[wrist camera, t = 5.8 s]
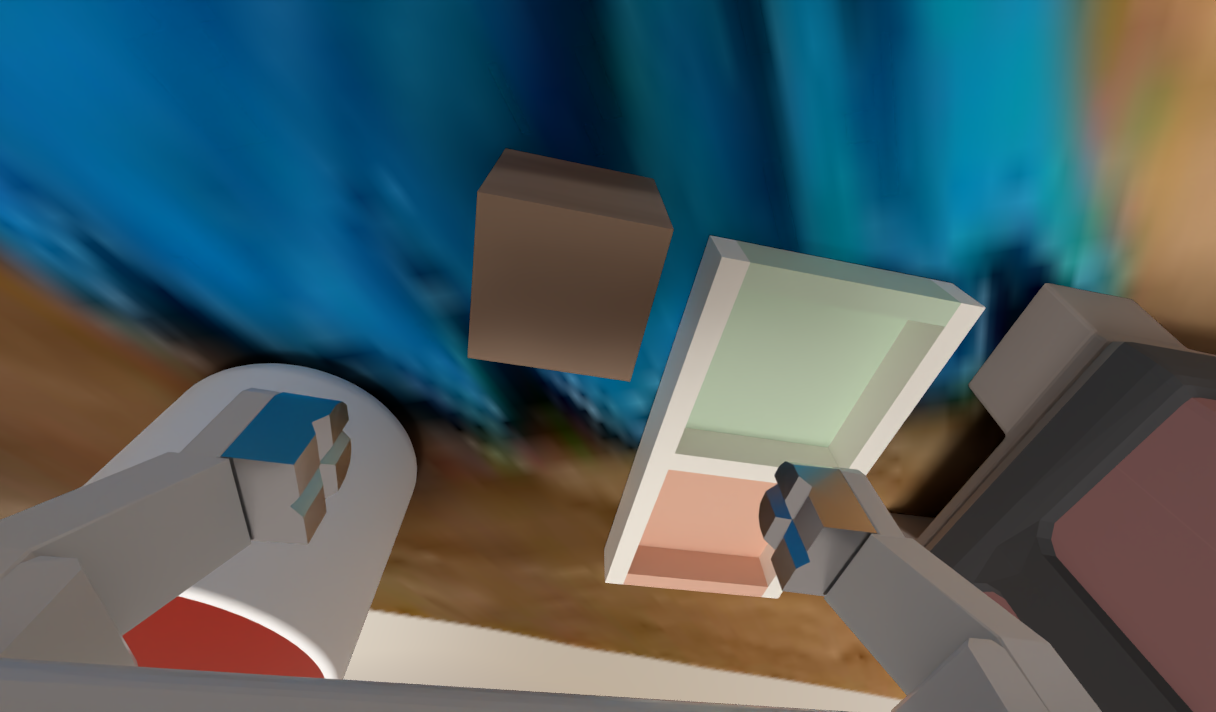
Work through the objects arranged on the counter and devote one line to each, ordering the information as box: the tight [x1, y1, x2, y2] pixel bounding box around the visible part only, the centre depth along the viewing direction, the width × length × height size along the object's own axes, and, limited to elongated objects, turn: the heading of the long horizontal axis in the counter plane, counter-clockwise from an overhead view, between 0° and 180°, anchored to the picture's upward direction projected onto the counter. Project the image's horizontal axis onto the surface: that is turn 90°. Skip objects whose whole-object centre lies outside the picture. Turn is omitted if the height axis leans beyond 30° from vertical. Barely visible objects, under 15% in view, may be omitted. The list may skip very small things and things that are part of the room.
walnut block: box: [468, 148, 674, 381], centre depth 16 cm, size 5×5×5 cm
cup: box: [82, 363, 417, 680], centre depth 19 cm, size 10×10×10 cm
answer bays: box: [604, 235, 985, 598], centre depth 23 cm, size 19×10×2 cm, turn 168°
